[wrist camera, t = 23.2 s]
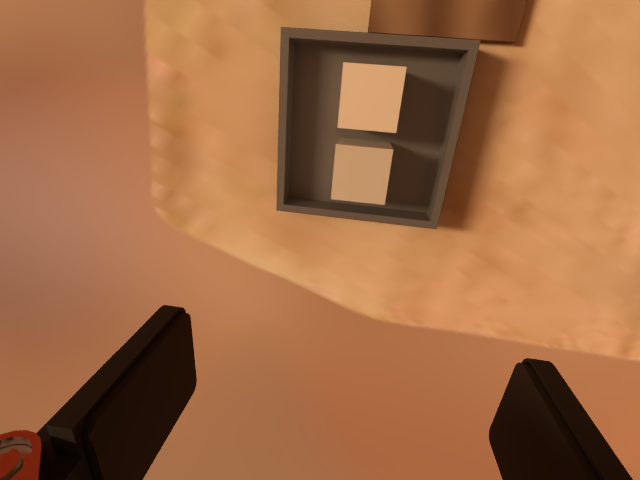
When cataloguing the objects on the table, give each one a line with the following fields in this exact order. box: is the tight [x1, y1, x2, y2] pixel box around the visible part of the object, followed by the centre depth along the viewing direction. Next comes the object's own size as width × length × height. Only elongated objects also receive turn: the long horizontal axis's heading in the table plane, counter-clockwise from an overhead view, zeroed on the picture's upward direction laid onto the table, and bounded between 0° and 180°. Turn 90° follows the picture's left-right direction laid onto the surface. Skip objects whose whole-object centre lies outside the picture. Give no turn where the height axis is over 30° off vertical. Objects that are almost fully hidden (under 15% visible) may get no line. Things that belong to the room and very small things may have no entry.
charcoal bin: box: [277, 27, 481, 229], centre depth 36 cm, size 18×18×4 cm
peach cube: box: [337, 62, 407, 133], centre depth 33 cm, size 6×6×6 cm
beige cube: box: [331, 138, 393, 205], centre depth 36 cm, size 6×6×6 cm
